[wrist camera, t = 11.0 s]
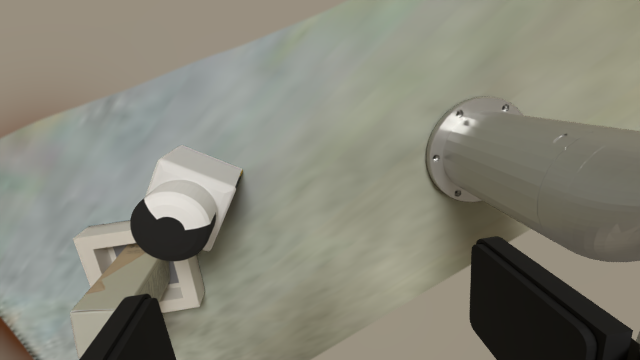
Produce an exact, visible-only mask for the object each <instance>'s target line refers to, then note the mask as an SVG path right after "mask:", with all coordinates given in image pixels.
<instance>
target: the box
mask: <svg viewBox="0 0 640 360" xmlns="http://www.w3.org/2000/svg"><path fill="white" fill-rule="evenodd" d="M169 281H170V271H169V261H164V260H160V259H157V258H154V257H152V256H150V255H148V254H147V253H146V252H144V251H143V250H142V249H141V248H140V247H139V246H138V245H137V244H128V245H127V246H126V247H125V249H124V250H123V251H122V252H121V253H120V254H119V255H118V257H117V258H116V259H115V260H114V261H113V263H112V264H111V265H110V266H109V267H108V268H107V270H106V271H105V272H104V273H103V274H102V275H101V277H100V278H99V279H98V280H97V281H96V282H95V284H94V285H93V286H92V287H91V288H90V289H89V291H88V292H87V293H86V294H85V295H84V296H83V298H82V299H81V300H80V301H79V302H78V303H77V305H76V306H75V307H74V308H73V309H72V310H71V311H70V316H71V323H72V329H73V335H74V340H75V345H76V350H77V354H78V358H81V357H82V355H83V354H84V352H85V351H86V350H87V348H88V347H89V345H90V344H91V343H92V341H93V340H94V339H95V337H96V336H97V334H98V333H99V332H100V330H101V329H102V327H103V326H104V325H105V323H106V322H107V321H108V319H109V318H110V316H111V315H112V314H113V312H114V311H115V309H116V308H117V307H118V305H119V304H120V303H121V301H122V300H123V299H124V298H125V297H128V296H134V295H141V294H149V295H150V296H151V298H156V299H157V300H158V302H159V301H160V299H161V296H162V295H163V293H164V291H165V289H166V287H167V285H168V283H169Z"/></svg>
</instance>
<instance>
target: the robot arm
mask: <svg viewBox="0 0 640 360" xmlns="http://www.w3.org/2000/svg"><path fill="white" fill-rule="evenodd" d="M456 113H457V115H456ZM434 155H435V157H434V158H433V156H434ZM426 160H427V167H428V171H429V174H430V176H431V179H432V180H433V182H434V183H435V185H436V186H437V187H438V188H439V189H440V190H441V191H442V192H444V193H445V194H446V195H448V196H450V197H451V198H453V199H456V200H459V201H463V202H478V201H484V202H486V203H488V204H489V205H491V206H493V207H495V208H496V209H498V210H500V211H502V212H503V213H505V214H507V215H509V216H510V217H512V218H514V219H516V220H517V221H519V222H521V223H522V224H524V225H526V226H528V227H529V228H531V229H533V230H535V231H536V232H538V233H540V234H542V235H544V236H545V237H547V238H549V239H550V240H552V241H554V242H556V243H558V244H560V245H561V246H563V247H565V248H567V249H568V250H570V251H572V252H574V253H576V254H579V255H581V256H584V257H587V258H590V259H595V260H600V261H606V262H632V261H640V131H634V130H627V129H619V128H612V127H604V126H597V125H590V124H582V123H575V122H567V121H560V120H553V119H545V118H538V117H531V116H524V115H523V114H522V113H521V112H520V110H519V109H518V108H517V107H515V106H514V105H513V104H512V103H510V102H508V101H506V100H504V99H500V98H495V97H476V98H471V99H468V100H465V101H463V102H461V103H459V104H457V105H456V106H454V107H453V108H452V109H450V110H449V111H448V112H447V113H446V114H445V115H444V116H443V117H442V118H441V119H440V120H439V122H438V123H437V125H436V126H435V128H434V130H433V132H432V134H431V137H430V139H429V143H428V147H427V158H426ZM470 288H471V289H470V323H471V326H472V328H473V330H474V331H475V332H476V334H477V335H478V336H479V337H480V339H481V340H482V341H483V343H484V344H485V345H486V347H487V348H488V349H489V350H490V352H491V353H492V354H493V355H494V357H495V358H496V359H497V360H640V332H639V334H638V337H637V339H636V341H635V340H633V339H632V338H631V337H632V332H633V330H631V329H630V328H629V327H627V326H626V325H624V324H623V323H622V322H620V321H619V320H617V319H616V318H615V317H613V316H612V315H610V314H609V313H607V312H606V311H605V310H603V309H602V308H600V307H599V306H597V305H596V304H594V303H593V302H592V301H590V300H589V299H587V298H586V297H585V296H583V295H582V294H580V293H579V292H578V291H576V290H575V289H573V288H572V287H570V286H569V285H567V284H566V283H565V282H563V281H562V280H560V279H559V278H558V277H556V276H555V275H553V274H552V273H550V272H549V271H548V270H546V269H545V268H543V267H542V266H541V265H539V264H538V263H536V262H535V261H533V260H532V259H531V258H529V257H528V256H526V255H525V254H523V253H522V252H521V251H519V250H518V249H516V248H515V247H513V246H512V245H510V244H509V243H508V242H506V241H505V240H503V239H502V238H500V237H490V238H484V239H479V240H478V241H477V243H476V245H474V246H473V247H472V255H471V287H470ZM79 360H176V357H175V354H174V351H173V348H172V344H171V341H170V338H169V335H168V331H167V328H166V325H165V322H164V318H163V315H162V312H161V309H160V305H159V302H158V300H157V299H156V298H151V296H150V295H149V294H141V295H134V296H128V297H125V298H124V299H123V300H122V301H121V303H120V304H119V305H118V307H117V308H116V309H115V311H114V312H113V314H112V315H111V316H110V318H109V319H108V321H107V322H106V323H105V325H104V326H103V327H102V329H101V330H100V332H99V333H98V334H97V336H96V337H95V339H94V340H93V341H92V343H91V344H90V345H89V347H88V348H87V350H86V351H85V352H84V354H83V355H82V357H81V358H80V359H79Z"/></svg>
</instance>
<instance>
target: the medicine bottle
mask: <svg viewBox="0 0 640 360" xmlns="http://www.w3.org/2000/svg"><path fill="white" fill-rule="evenodd" d="M242 173H243V170H242V169H241V168H239V167H236V166H234V165H231V164H229V163H226V162H224V161H221V160H219V159H216V158H214V157H211V156H209V155H206V154H203V153H201V152H198V151H196V150H193V149H191V148H188V147H186V146H183V145H180V146H178V147H177V148H175V149H174V150H172V151H171V152H169V153H168V154H166V155H165V156H163V157H162V158H160V159H159V160H158V161H157V164H156V167H155V170H154V173H153V176H152V178H151V181H150V184H149V187H148V190H147V193H146V196H145V198H144V199H143V200H142V201H140V202H139V204H138V205H137V206H136V207H135V209H134V211H133V213H132V216H131V220H130V228H131V233H132V236H133V238H134V240H135V242H136V243H137V245H138V246H139V247H140V248H141V249H142V250H143V251H144V252H146V253H147V254H148V255H150V256H152V257H154V258H157V259H160V260H164V261H182V260H186V259H189V258H191V257H193V256H195V255H196V254H198V253H199V252H200V251H201V250H204V251H210V250H211V249H212V247H213V244H214V242H215V239H216V237H217V235H218V232H219V230H220V227H221V225H222V223H223V220H224V218H225V215H226V213H227V211H228V208H229V206H230V203H231V201H232V199H233V196H234V194H235V191H236V189H237V186H238V183H239V181H240V178H241V175H242Z"/></svg>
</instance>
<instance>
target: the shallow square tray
mask: <svg viewBox="0 0 640 360" xmlns="http://www.w3.org/2000/svg"><path fill="white" fill-rule="evenodd" d="M73 240H74V243H75V245H76V248H77V251H78V254H79V256H80V259H81V262H82V265H83V267H84V270H85V273H86V275H87V278H88V281H89V284H90V286H91V287H92V286H93V285H94V284H95V282H96V281H97V280H98V279H99V278H100V277H101V275H102V274H103V273H104V272H105V271H106V270H107V268H108V267H109V266H110V265H111V264H112V263H113V261H114V260H115V259H116V258H117V257H118V255H119V254H120V253H121V252H122V251H123V250H124V249H125V247H126V246H127V245H128V244H137V243H136V242H135V240H134V238H133V236H132V233H131V228H130V221H123V222H116V223H109V224H102V225H94V226H89V227H87V228H86V229H85V230H84V231H82V232H81V233H80V234H78V235H77V236H76V237H74V238H73ZM169 271H170V281H169V283H168V285H167V287H166V289H165V291H164V293H163V295H162V296H161V299H160V301H159V305H160V309H161V312H162V313H165V312H171V311H177V310H183V309H189V308H195V307H200V305H201V302H202V299H203V296H204V293H205V288H204V284H203V280H202V276H201V272H200V268H199V263H198V259H197V255H195V256H193V257H191V258H189V259H186V260H182V261H169Z"/></svg>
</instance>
